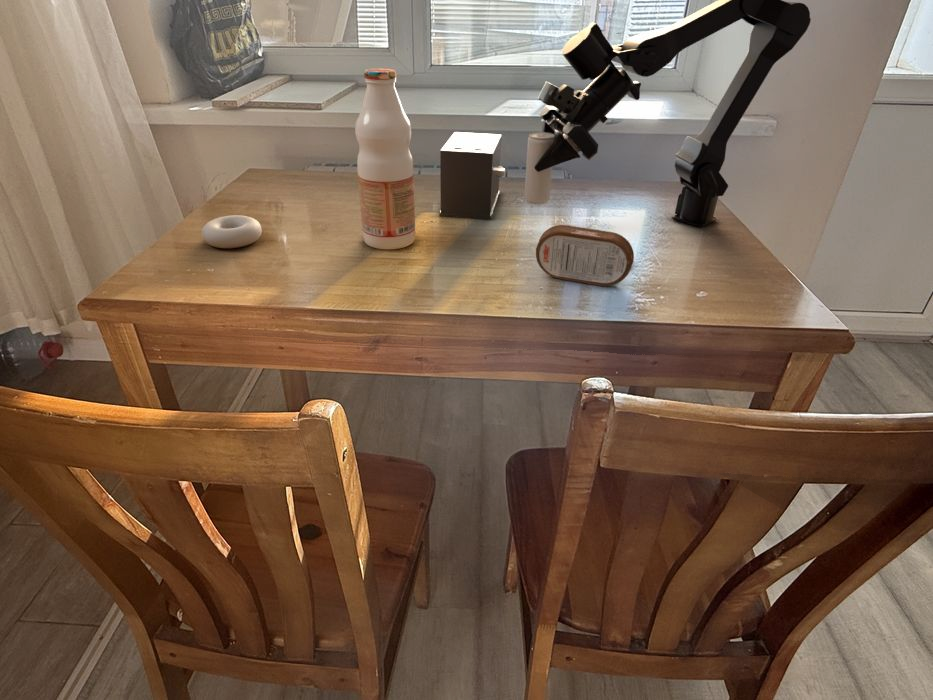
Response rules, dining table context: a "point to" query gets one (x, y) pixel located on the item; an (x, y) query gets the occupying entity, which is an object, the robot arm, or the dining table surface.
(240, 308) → the dining table surface
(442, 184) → the toaster
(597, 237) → the tin
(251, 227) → the donut
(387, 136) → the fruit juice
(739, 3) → the robot arm
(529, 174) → the beverage can
